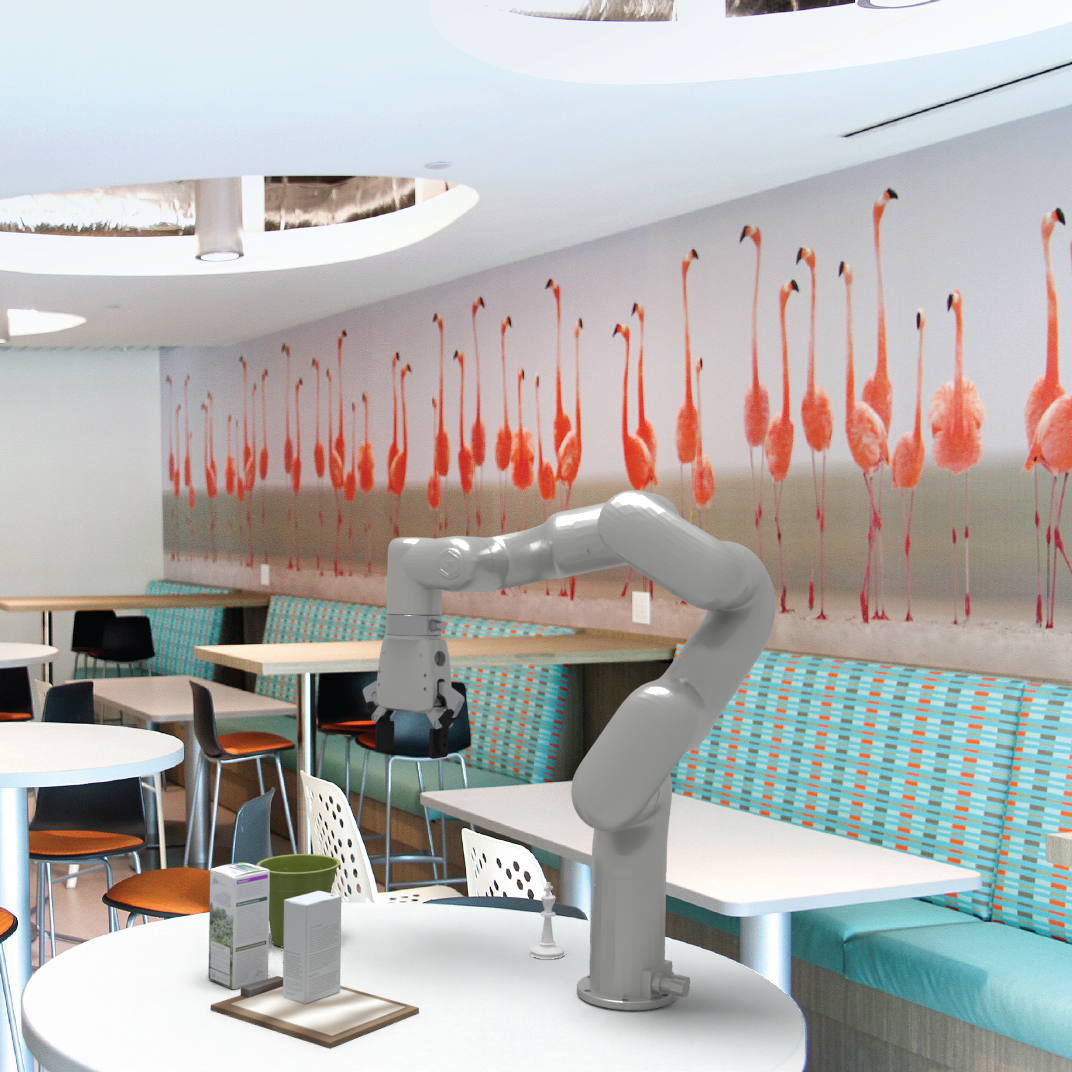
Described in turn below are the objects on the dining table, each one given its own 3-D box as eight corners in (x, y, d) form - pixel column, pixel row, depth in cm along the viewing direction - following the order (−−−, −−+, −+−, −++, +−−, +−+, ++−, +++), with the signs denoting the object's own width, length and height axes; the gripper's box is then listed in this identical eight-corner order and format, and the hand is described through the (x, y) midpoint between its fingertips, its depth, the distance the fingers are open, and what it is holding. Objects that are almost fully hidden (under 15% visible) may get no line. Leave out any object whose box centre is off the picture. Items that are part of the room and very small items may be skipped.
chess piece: (571, 953, 182) (572, 881, 182) (552, 962, 178) (554, 888, 178) (541, 947, 185) (543, 876, 185) (522, 955, 181) (524, 883, 181)
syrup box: (270, 981, 167) (272, 867, 168) (230, 991, 163) (234, 874, 163) (244, 971, 171) (247, 860, 172) (205, 980, 167) (208, 867, 167)
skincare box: (316, 985, 163) (319, 889, 164) (340, 992, 161) (343, 895, 161) (280, 997, 158) (282, 898, 159) (304, 1005, 156) (307, 904, 156)
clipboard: (418, 1012, 156) (419, 999, 156) (329, 1048, 144) (330, 1033, 144) (301, 979, 168) (302, 967, 168) (210, 1009, 156) (210, 996, 156)
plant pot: (270, 928, 192) (272, 852, 192) (348, 933, 190) (350, 855, 190) (241, 951, 180) (243, 869, 180) (324, 956, 178) (326, 874, 179)
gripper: (480, 630, 175) (478, 757, 174) (385, 625, 185) (382, 745, 184) (444, 631, 169) (442, 763, 168) (348, 626, 179) (345, 750, 178)
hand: (410, 754), depth 176 cm, fingers open, 9 cm apart
